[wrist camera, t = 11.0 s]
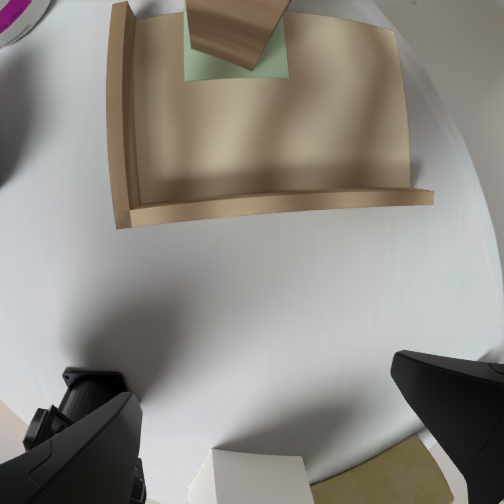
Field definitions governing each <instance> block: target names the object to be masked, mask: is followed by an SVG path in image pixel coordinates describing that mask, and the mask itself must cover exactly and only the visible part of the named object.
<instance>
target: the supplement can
mask: <svg viewBox="0 0 504 504" xmlns="http://www.w3.org/2000/svg"><path fill="white" fill-rule="evenodd" d="M50 2H51V0H0V49H2V48H4V47H7V46H9V45H11V44H12V43H14V42H16V41H17V40H18V39H20V38H21V37H23V36H24V35H25V34H27V33H28V32H29V31H30V30H31V29H32V28H33V27H34V26H35V25H36V24H37V22H38V21H39V20H40V18H41V17H42V16H43V14H44V13H45V11H46V9H47V7H48V6H49V4H50Z"/></svg>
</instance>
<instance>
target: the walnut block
mask: <svg viewBox="0 0 504 504" xmlns="http://www.w3.org/2000/svg"><path fill="white" fill-rule="evenodd" d="M290 2H291V0H185V3H186V12H187V20H188V29H189V37H190V44H191V49H193V50H196V51H199V52H202V53H205V54H208V55H211V56H214V57H216V58H219V59H222V60H224V61H227V62H230V63H232V64H235V65H237V66H240V67H242V68H245V69H247V70H249V71H253V69H254V67H255V65H256V63H257V61H258V59H259V57H260V56H261V54H262V52H263V50H264V48H265V46H266V45H267V43H268V41H269V39H270V38H271V36H272V34H273V32H274V31H275V29H276V27H277V25H278V23H279V22H280V20H281V18H282V16H283V14H284V13H285V11H286V9H287V7H288V6H289V4H290Z"/></svg>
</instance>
